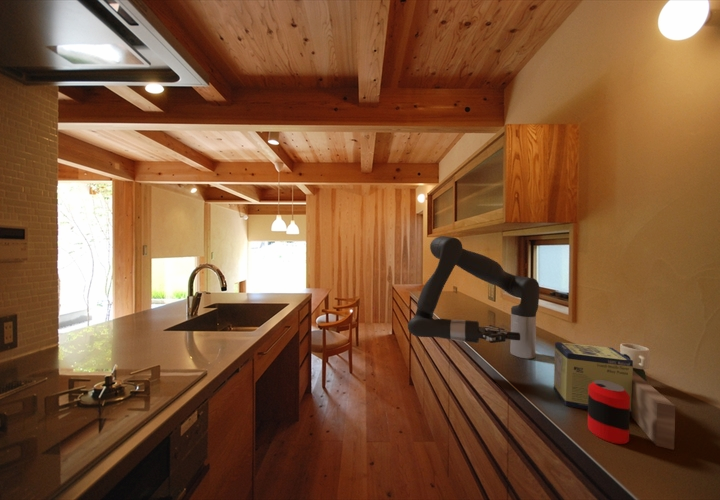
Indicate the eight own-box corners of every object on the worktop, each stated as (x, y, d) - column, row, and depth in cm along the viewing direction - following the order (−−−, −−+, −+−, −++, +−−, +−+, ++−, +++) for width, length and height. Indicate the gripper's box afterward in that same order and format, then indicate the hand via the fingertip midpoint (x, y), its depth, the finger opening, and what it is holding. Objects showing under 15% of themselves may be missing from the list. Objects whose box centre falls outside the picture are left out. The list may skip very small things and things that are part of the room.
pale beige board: (611, 393, 88) (611, 361, 88) (623, 395, 87) (624, 363, 87) (656, 445, 64) (657, 402, 64) (674, 449, 63) (675, 405, 63)
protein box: (633, 417, 75) (634, 360, 75) (565, 406, 80) (566, 352, 80) (611, 397, 85) (613, 347, 85) (552, 389, 90) (553, 341, 90)
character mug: (612, 376, 100) (613, 340, 100) (638, 380, 97) (638, 343, 97) (629, 391, 90) (630, 350, 89) (658, 395, 87) (659, 354, 87)
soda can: (579, 424, 72) (580, 378, 72) (607, 423, 72) (608, 377, 72) (607, 445, 64) (609, 393, 64) (638, 444, 65) (639, 393, 65)
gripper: (463, 325, 94) (522, 331, 87) (465, 315, 106) (518, 320, 99) (463, 347, 94) (522, 355, 87) (465, 335, 106) (518, 341, 99)
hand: (520, 336), depth 93 cm, fingers closed
